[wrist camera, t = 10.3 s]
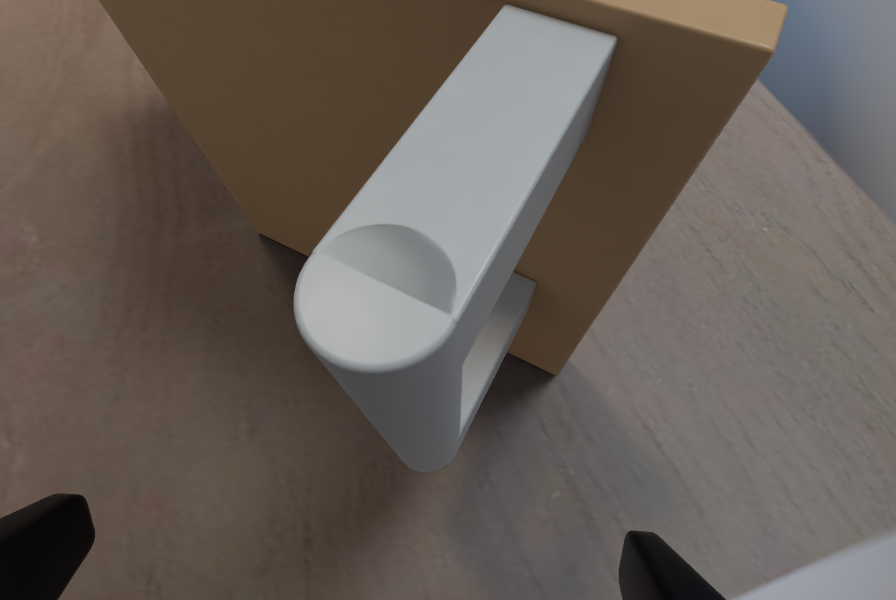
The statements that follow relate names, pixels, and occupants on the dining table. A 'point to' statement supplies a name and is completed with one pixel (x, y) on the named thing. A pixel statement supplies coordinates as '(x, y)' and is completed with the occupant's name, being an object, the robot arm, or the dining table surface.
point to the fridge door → (451, 167)
